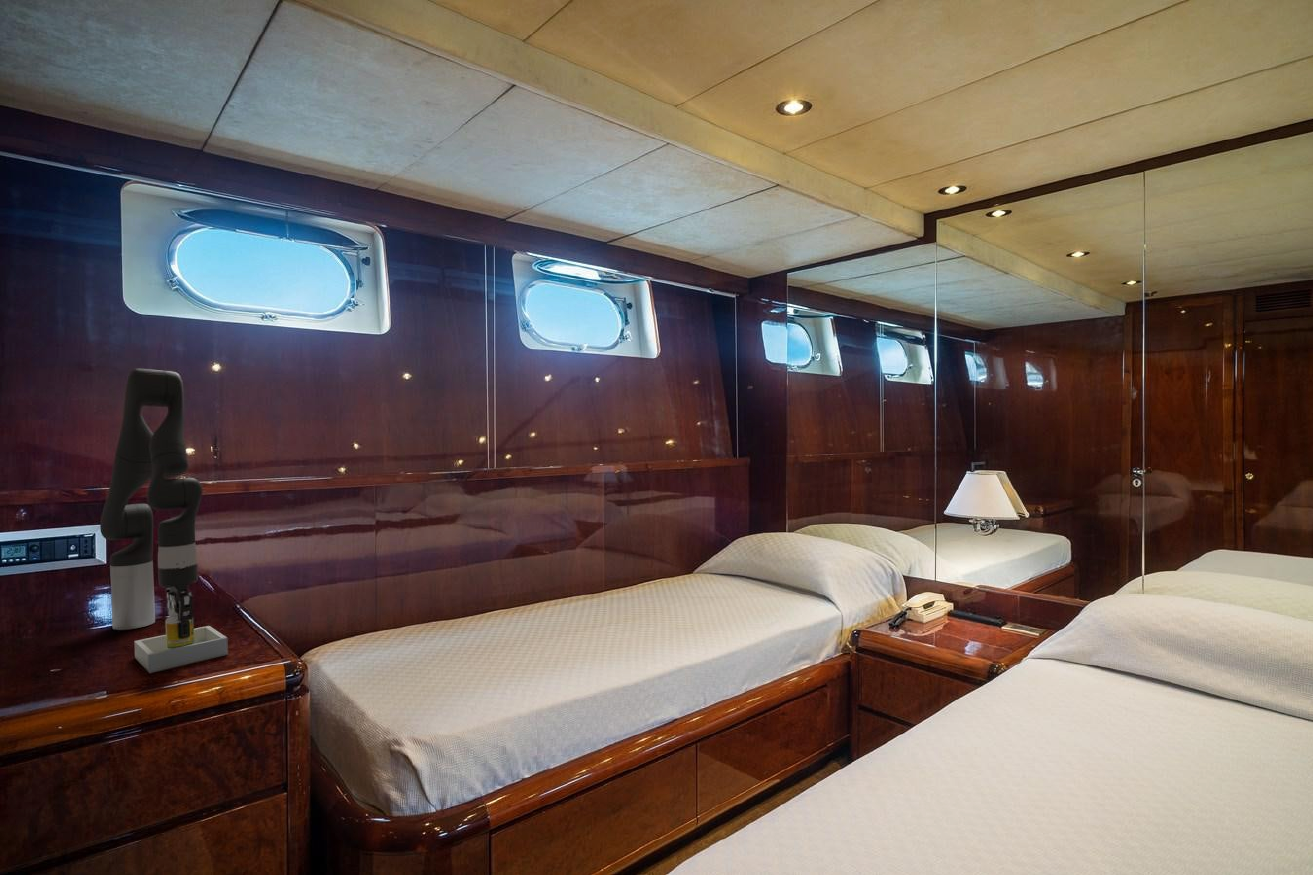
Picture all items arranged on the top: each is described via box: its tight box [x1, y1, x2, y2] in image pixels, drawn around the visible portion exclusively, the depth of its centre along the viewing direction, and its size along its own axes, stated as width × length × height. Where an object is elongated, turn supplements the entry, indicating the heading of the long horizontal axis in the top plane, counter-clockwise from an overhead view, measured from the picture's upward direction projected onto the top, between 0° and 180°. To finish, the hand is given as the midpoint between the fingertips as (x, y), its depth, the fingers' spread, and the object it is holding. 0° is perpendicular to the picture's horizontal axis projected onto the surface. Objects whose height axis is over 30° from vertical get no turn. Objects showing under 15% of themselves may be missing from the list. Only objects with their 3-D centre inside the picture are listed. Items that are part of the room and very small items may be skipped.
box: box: [134, 625, 229, 674], centre depth 157 cm, size 15×15×4 cm
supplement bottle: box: [164, 607, 195, 650], centre depth 157 cm, size 5×5×10 cm
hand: (180, 634), depth 157 cm, fingers closed on supplement bottle, 5 cm apart
